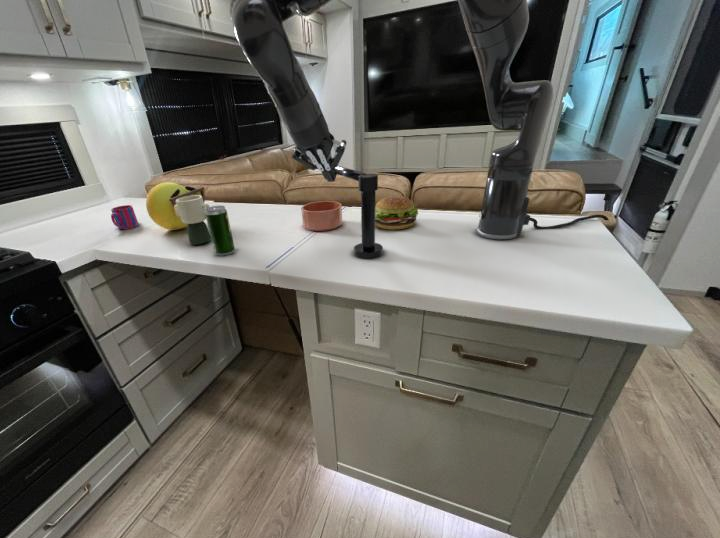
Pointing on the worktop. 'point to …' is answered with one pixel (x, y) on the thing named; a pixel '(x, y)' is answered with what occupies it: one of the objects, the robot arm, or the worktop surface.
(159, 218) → the emoji
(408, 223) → the food
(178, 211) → the character mug
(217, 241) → the beer can
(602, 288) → the worktop surface
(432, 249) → the worktop surface
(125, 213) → the cup
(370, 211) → the faucet base
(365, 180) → the spout
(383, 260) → the worktop surface
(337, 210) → the basin
